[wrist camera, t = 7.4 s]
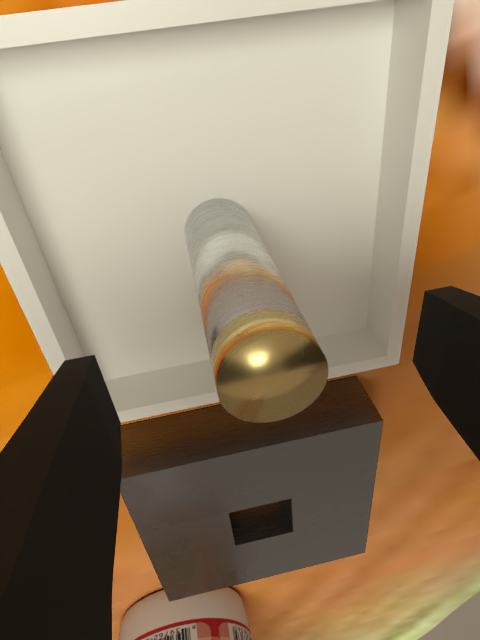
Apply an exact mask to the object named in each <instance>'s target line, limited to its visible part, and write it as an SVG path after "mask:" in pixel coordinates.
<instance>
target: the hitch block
mask: <svg viewBox="0 0 480 640" xmlns="http://www.w3.org/2000/svg"><path fill="white" fill-rule="evenodd" d="M382 426H383V419H382V418H381V416H380V414H379V413H378V411H377V409H376V408H375V406H374V404H373V403H372V401H371V399H370V398H369V396H368V394H367V393H366V391H365V389H364V388H363V386H362V384H361V383H360V381H359V379H358V378H357V376H354V377H349V378H344V379H340V380H335V381H330V382H326V384H325V387H324V389H323V390H322V392H321V394H320V395H319V396H318V397H317V399H316V400H315V401H314V402H313V403H312V404H310V405H309V406H308V407H307V408H305V409H304V410H302V411H301V412H299V413H297V414H295V415H293V416H291V417H288V418H286V419H283V420H279V421H274V422H267V423H255V422H248V421H244V420H241V419H239V418H236V417H235V416H233V415H231V414H230V413H228V412H227V411H226V410H225V409H224V407H223V406H222V405H217V406H212V407H207V408H203V409H198V410H193V411H188V412H184V413H179V414H174V415H169V416H165V417H160V418H155V419H151V420H146V421H141V422H136V423H132V424H127V425H122V426H121V445H122V474H121V487H120V493H121V495H122V498H123V500H124V502H125V504H126V506H127V509H128V511H129V513H130V515H131V518H132V520H133V522H134V524H135V526H136V529H137V531H138V533H139V535H140V538H141V540H142V542H143V544H144V547H145V549H146V551H147V553H148V555H149V558H150V560H151V562H152V564H153V567H154V569H155V571H156V573H157V575H158V578H159V580H160V582H161V584H162V587H163V589H164V591H165V593H166V596H167V598H168V600H169V602H170V601H174V600H178V599H182V598H186V597H190V596H194V595H198V594H202V593H206V592H210V591H214V590H218V589H222V588H226V587H230V586H234V585H238V584H242V583H246V582H250V581H254V580H258V579H262V578H266V577H270V576H274V575H278V574H282V573H286V572H289V571H293V570H297V569H301V568H305V567H309V566H313V565H317V564H321V563H325V562H329V561H333V560H337V559H341V558H345V557H349V556H353V555H357V554H361V553H365V549H366V542H367V534H368V527H369V520H370V513H371V505H372V498H373V491H374V484H375V477H376V469H377V462H378V455H379V448H380V440H381V433H382Z"/></svg>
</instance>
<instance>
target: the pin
mask: <svg viewBox="0 0 480 640" xmlns="http://www.w3.org/2000/svg"><path fill="white" fill-rule="evenodd" d="M185 239H186V244H187V249H188V254H189V258H190V263H191V268H192V273H193V278H194V283H195V288H196V292H197V297H198V302H199V307H200V312H201V317H202V322H203V326H204V331H205V336H206V341H207V346H208V351H209V356H210V360H211V365H212V370H213V375H214V380H215V385H216V390H217V394H218V398H219V401H220V403H221V405H222V406H223V407H224V409H225V410H226V411H227V412H228V413H230V414H231V415H233V416H235V417H236V418H239V419H241V420H244V421H248V422H255V423H267V422H274V421H279V420H283V419H286V418H288V417H291V416H293V415H295V414H297V413H299V412H301V411H302V410H304V409H305V408H307V407H308V406H309V405H310V404H312V403H313V402H314V401H315V400H316V399H317V397H318V396H319V395H320V394H321V392H322V390H323V389H324V387H325V384H326V382H327V378H328V363H327V360H326V357H325V355H324V353H323V352H322V350H321V348H320V346H319V344H318V342H317V341H316V339H315V337H314V335H313V333H312V331H311V329H310V328H309V326H308V324H307V322H306V320H305V318H304V317H303V315H302V313H301V311H300V309H299V307H298V306H297V304H296V302H295V300H294V298H293V296H292V295H291V293H290V291H289V289H288V287H287V285H286V283H285V282H284V280H283V278H282V276H281V274H280V272H279V271H278V269H277V267H276V265H275V263H274V261H273V260H272V258H271V256H270V254H269V252H268V250H267V248H266V247H265V245H264V243H263V241H262V239H261V237H260V236H259V234H258V232H257V230H256V228H255V226H254V225H253V223H252V221H251V219H250V217H249V215H248V214H247V212H246V211H245V209H244V208H243V207H242V206H241V205H239V204H238V203H236V202H234V201H232V200H229V199H225V198H214V199H210V200H207V201H204V202H203V203H201V204H199V205H198V206H197V207H196V208H194V209H193V211H192V212H191V213H190V215H189V216H188V218H187V221H186V224H185Z"/></svg>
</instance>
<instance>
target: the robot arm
mask: <svg viewBox="0 0 480 640" xmlns="http://www.w3.org/2000/svg"><path fill="white" fill-rule="evenodd" d="M413 363H414V365H415V367H416V368H417V370H418V372H419V374H420V376H421V378H422V380H423V382H424V383H425V385H426V387H427V389H428V390H429V392H430V394H431V396H432V397H433V399H434V400H435V402H436V403H437V405H438V406H439V407H440V409H441V410H442V411H443V413H444V414H445V415H446V417H447V418H448V420H449V421H450V422H451V424H452V425H453V426H454V428H455V429H456V430H457V432H458V433H459V434H460V436H461V437H462V438H463V440H464V441H465V442H466V444H467V445H468V446H469V448H470V449H471V450H472V452H473V453H474V454H475V455H476V457H477V458H478V459H479V461H480V297H479V296H477V295H474V294H472V293H469V292H467V291H464V290H461V289H458V288H455V287H452V286H449V287H443V288H438V289H433V290H428V291H425V294H424V299H423V305H422V311H421V317H420V322H419V328H418V334H417V339H416V345H415V351H414V357H413ZM121 474H122V445H121V424H120V420H119V417H118V414H117V412H116V409H115V407H114V404H113V401H112V399H111V396H110V394H109V391H108V388H107V386H106V383H105V381H104V378H103V375H102V373H101V370H100V368H99V365H98V362H97V360H96V357H95V355H90V356H85V357H80V358H75V359H70V360H65V361H64V362H63V363H62V365H61V366H60V368H59V369H58V370H57V372H56V373H55V375H54V376H53V378H52V379H51V381H50V382H49V384H48V385H47V387H46V388H45V390H44V391H43V393H42V394H41V396H40V397H39V399H38V400H37V401H36V403H35V404H34V406H33V407H32V409H31V410H30V412H29V413H28V415H27V416H26V418H25V419H24V420H23V422H22V423H21V425H20V426H19V427H18V429H17V430H16V432H15V433H14V435H13V436H12V437H11V439H10V440H9V442H8V443H7V444H6V446H5V447H4V448H3V450H2V451H1V453H0V640H112V581H113V567H114V555H115V544H116V533H117V522H118V510H119V499H120V487H121Z"/></svg>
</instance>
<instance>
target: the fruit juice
mask: <svg viewBox="0 0 480 640" xmlns="http://www.w3.org/2000/svg"><path fill="white" fill-rule="evenodd" d="M119 640H252V638H251V633H250V627H249V622H248V617H247V612H246V609H245V606H244V603H243V601H242V599H241V597H240V595H239V594H238V593H237V592H236V591H234V590H233V589H231V588H229V587H226V588H222V589H218V590H214V591H210V592H206V593H202V594H198V595H194V596H190V597H186V598H182V599H178V600H174V601H170V602H169V600H168V598H167V596H166V593H165V591H164V590H161V591H158V592H156V593H153V594H151V595H149V596H147V597H145V598H143V599H142V600H140V601H139V602H137V603H136V604H134V605H133V606H132V607H131V608H130V609H129V610H128V611H127V612H126V614H125V615H124V617H123V620H122V623H121V626H120V632H119Z"/></svg>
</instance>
